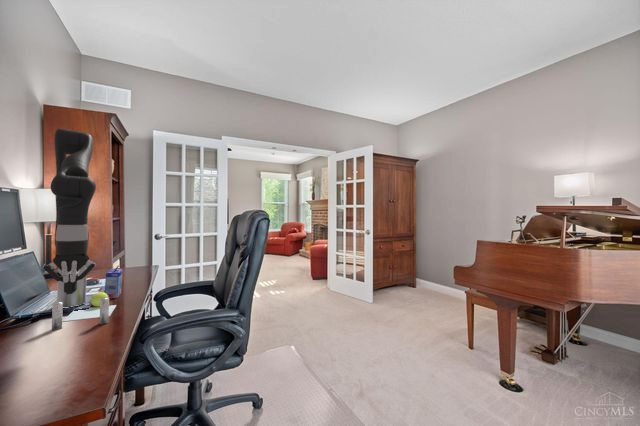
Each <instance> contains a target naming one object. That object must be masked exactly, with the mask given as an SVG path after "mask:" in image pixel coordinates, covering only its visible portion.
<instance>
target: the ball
mask: <svg viewBox="0 0 640 426" xmlns="http://www.w3.org/2000/svg"><path fill="white" fill-rule="evenodd" d="M107 297H108V295H107V294H106V293H105V291H102V292H101V291H100V292H99V291H98V292H96V293H94V294H93V295H92V296H91V298H90V303H91V305H92V306H93V307H100V299H101V298H107Z"/></svg>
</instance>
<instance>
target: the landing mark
mask: <svg viewBox="0 0 640 426" xmlns="http://www.w3.org/2000/svg"><path fill="white" fill-rule="evenodd" d="M116 307H117V304H114V305H113V304H112V305H109V317H111V315H112V313H113V312H114V310H115V309H116ZM88 308H89V309H86V310H78V311H74V310H73V311H72V312H70V314H69V315H67V316H66V317H65V318H64V319H62V323H63V322H71V321H81V320H90V319H98V318H99V319H100V307H96V306H93V307H88Z"/></svg>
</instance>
